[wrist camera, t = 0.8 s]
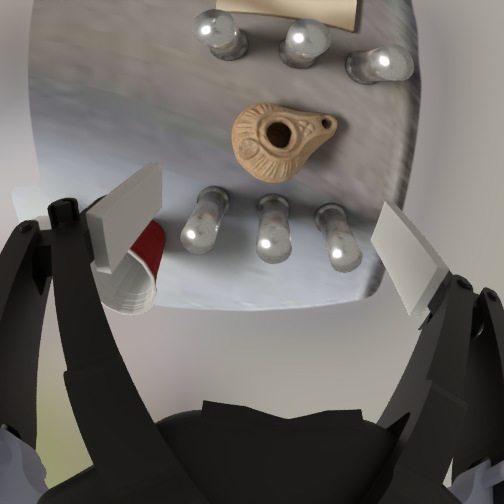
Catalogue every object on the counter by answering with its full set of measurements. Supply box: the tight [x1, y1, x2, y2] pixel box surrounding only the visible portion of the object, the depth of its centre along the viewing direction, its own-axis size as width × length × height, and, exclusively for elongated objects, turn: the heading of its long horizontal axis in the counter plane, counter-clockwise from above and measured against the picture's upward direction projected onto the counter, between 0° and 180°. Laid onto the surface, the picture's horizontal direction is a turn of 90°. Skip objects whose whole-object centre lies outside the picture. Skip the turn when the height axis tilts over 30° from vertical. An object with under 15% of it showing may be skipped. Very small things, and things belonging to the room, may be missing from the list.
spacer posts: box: [180, 9, 414, 273], centre depth 26 cm, size 25×20×10 cm
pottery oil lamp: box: [231, 103, 338, 183], centre depth 28 cm, size 9×12×7 cm
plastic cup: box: [90, 221, 165, 316], centre depth 35 cm, size 11×11×12 cm
